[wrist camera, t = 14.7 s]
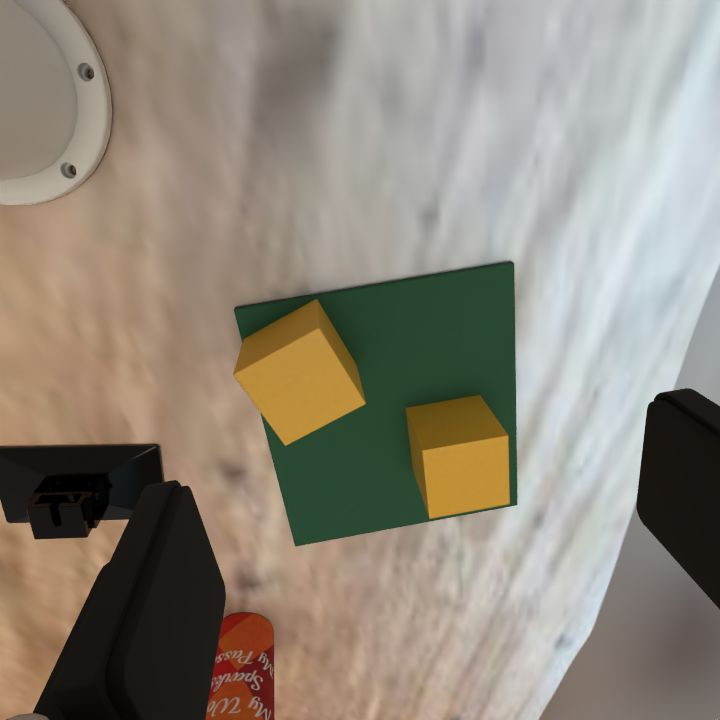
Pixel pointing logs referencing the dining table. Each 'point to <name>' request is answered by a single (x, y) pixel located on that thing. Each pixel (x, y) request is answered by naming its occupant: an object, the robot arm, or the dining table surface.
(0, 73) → the robot arm
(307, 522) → the towel
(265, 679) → the paper cup
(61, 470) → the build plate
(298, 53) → the dining table surface
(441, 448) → the yellow block
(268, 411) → the yellow block
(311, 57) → the dining table surface
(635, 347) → the dining table surface
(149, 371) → the dining table surface
